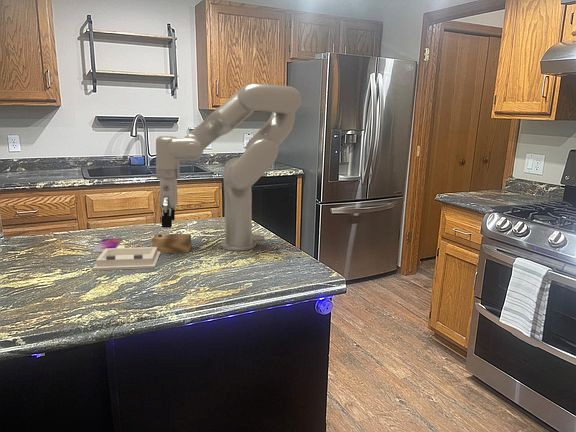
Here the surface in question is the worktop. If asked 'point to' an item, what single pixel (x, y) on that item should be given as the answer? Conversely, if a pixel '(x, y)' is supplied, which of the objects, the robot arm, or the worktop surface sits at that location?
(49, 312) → the worktop surface
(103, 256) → the cabinet frame
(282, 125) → the robot arm
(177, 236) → the door panel
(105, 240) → the smartphone
